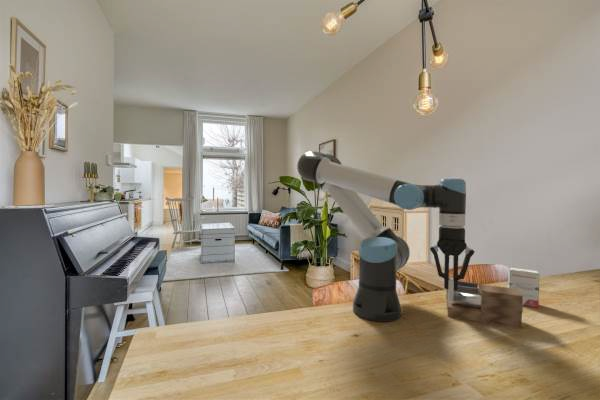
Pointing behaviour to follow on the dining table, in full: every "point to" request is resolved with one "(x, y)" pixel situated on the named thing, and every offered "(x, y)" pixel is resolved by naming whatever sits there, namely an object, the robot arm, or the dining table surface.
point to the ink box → (525, 285)
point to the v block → (466, 288)
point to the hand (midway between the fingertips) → (450, 299)
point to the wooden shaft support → (492, 307)
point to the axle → (468, 299)
